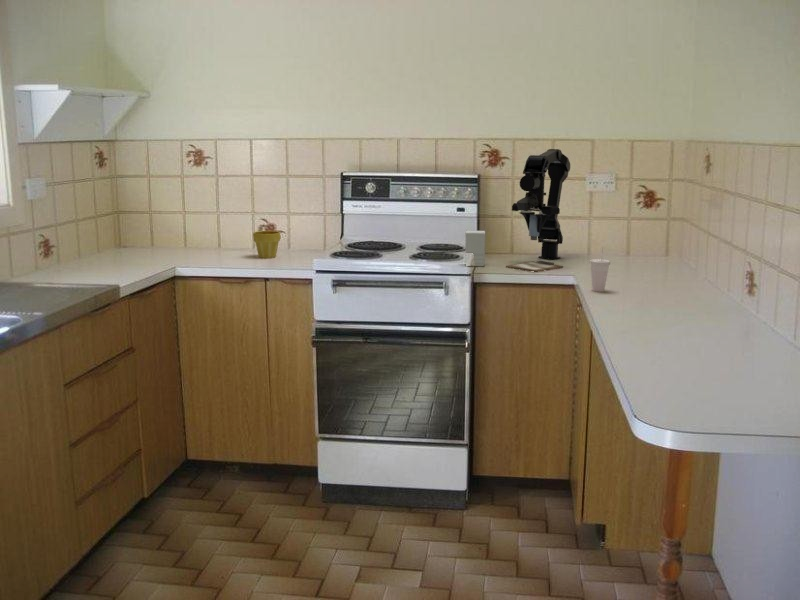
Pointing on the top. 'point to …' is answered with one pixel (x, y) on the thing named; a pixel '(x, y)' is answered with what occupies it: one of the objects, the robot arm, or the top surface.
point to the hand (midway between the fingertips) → (534, 231)
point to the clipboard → (535, 266)
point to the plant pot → (266, 243)
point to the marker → (533, 227)
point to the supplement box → (476, 246)
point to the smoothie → (599, 273)
